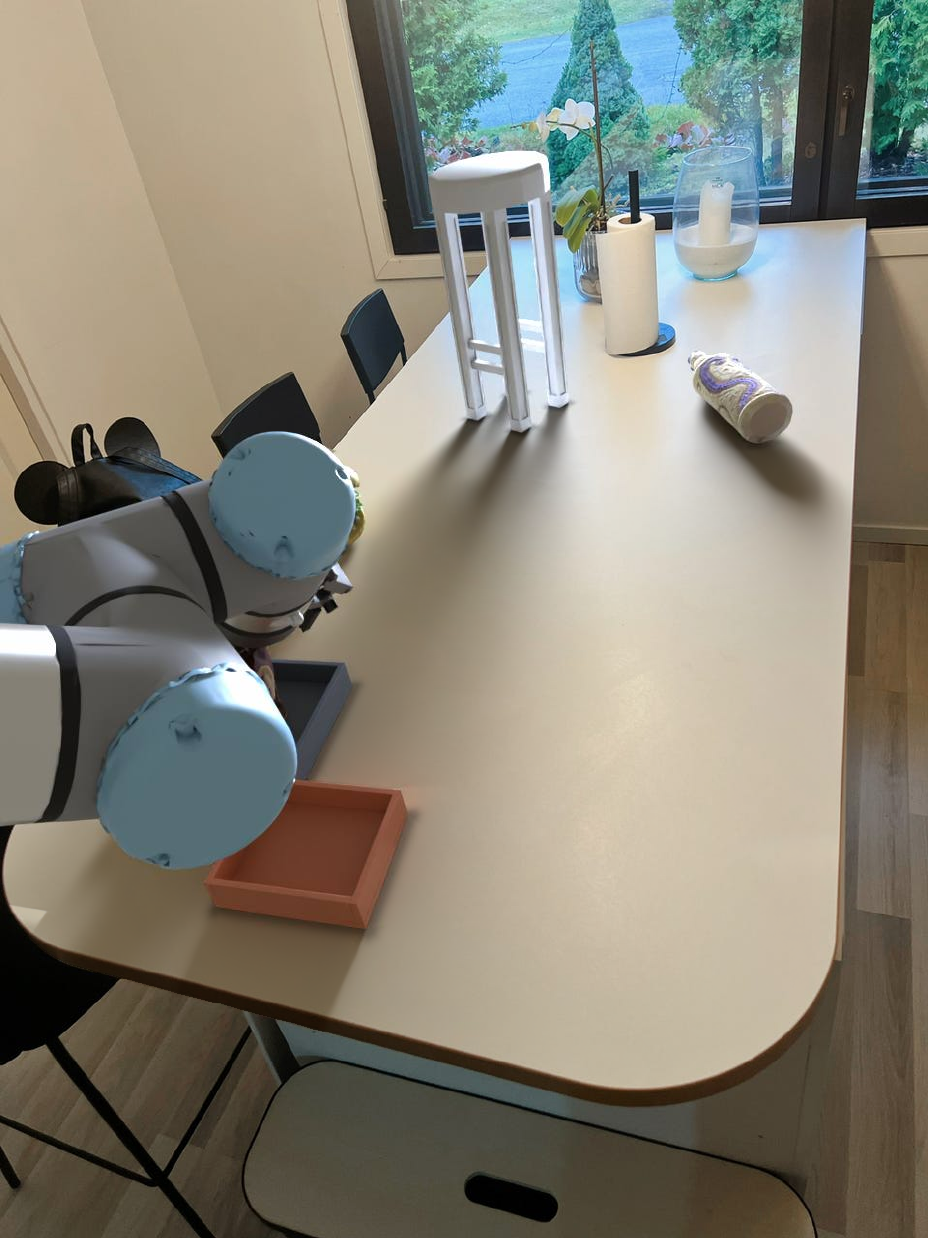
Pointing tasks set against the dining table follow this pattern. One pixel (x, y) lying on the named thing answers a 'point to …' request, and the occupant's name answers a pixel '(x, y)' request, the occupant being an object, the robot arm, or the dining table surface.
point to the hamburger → (359, 515)
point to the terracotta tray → (316, 856)
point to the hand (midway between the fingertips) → (232, 654)
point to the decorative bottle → (740, 396)
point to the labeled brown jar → (262, 671)
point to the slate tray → (310, 703)
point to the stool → (501, 275)
